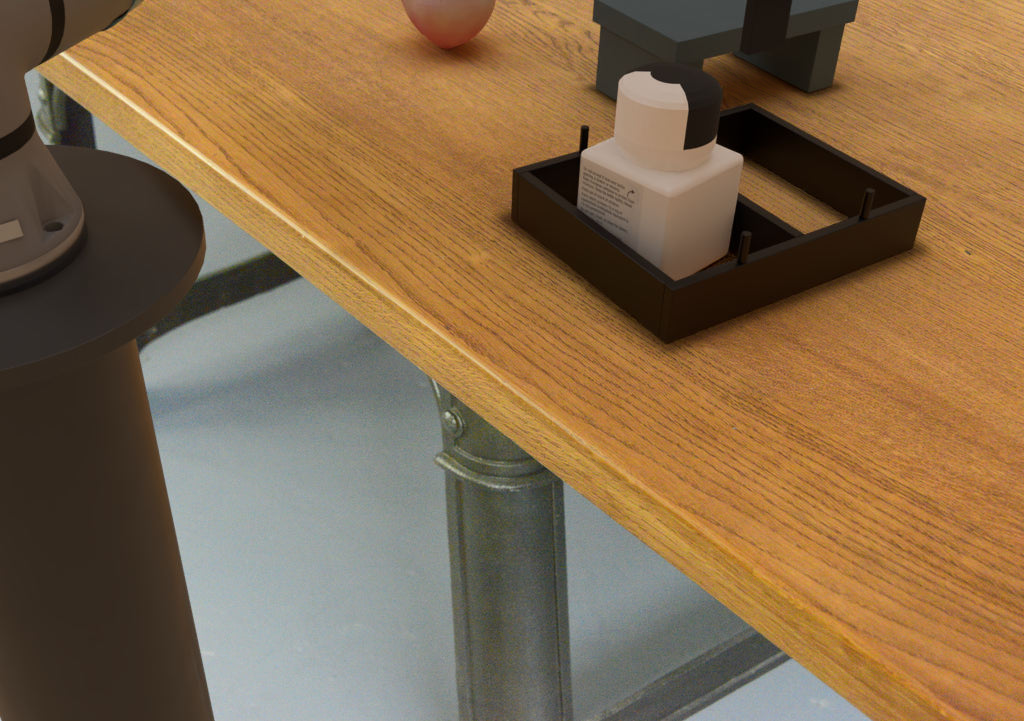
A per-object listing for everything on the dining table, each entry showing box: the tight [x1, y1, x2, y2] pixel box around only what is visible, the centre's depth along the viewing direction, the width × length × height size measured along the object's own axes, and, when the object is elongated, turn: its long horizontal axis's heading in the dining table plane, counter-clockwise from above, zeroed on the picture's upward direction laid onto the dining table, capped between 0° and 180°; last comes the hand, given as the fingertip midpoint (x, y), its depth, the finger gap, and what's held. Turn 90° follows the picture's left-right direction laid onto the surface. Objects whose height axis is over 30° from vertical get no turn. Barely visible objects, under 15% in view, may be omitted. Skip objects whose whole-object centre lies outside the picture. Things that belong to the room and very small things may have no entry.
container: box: [576, 62, 744, 281], centre depth 75 cm, size 8×8×13 cm
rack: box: [510, 102, 928, 345], centre depth 80 cm, size 18×22×6 cm
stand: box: [591, 0, 860, 102], centre depth 99 cm, size 11×20×8 cm, turn 123°
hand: (683, 11), depth 69 cm, fingers open, 13 cm apart
